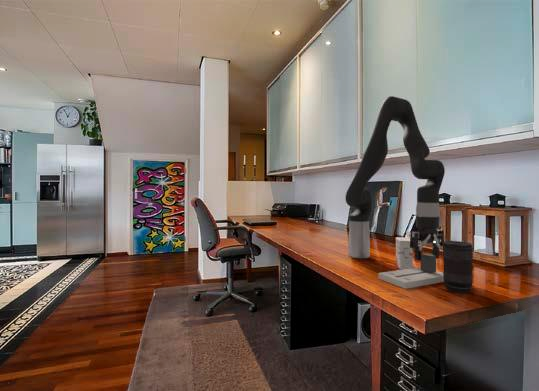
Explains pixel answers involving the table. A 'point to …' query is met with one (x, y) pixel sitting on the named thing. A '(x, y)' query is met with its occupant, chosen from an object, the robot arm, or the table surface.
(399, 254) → the ink cartridge box
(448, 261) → the camera lens
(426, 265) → the fader tab
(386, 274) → the fader console
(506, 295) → the table surface
